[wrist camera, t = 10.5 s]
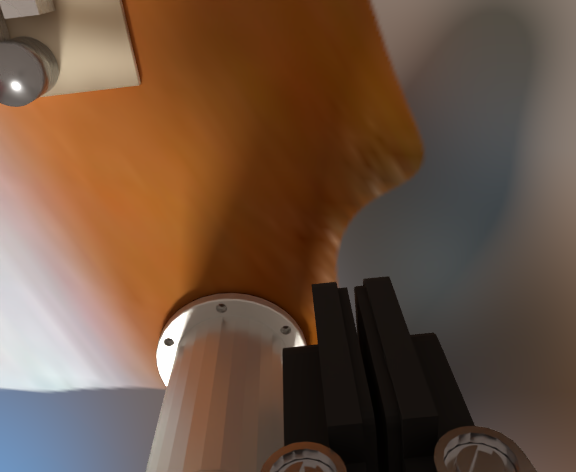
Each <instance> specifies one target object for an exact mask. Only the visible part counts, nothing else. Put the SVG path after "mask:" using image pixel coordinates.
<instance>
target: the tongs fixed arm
mask: <svg viewBox="0 0 576 472" xmlns="http://www.w3.org/2000/svg"><path fill="white" fill-rule="evenodd" d="M0 6H1V9H2V12H3V15H4V18H5V19H8V18H17V17H25V16H33V15H40V14H44V13H48V12H52V11H55V8H54V5H53V1H52V0H0Z"/></svg>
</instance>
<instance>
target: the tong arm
mask: <svg viewBox="0 0 576 472" xmlns="http://www.w3.org/2000/svg"><path fill="white" fill-rule="evenodd" d="M58 75H59V69H58V63H57V61H56V58H55V56H54V54H53V53H52V52H51V50H50V49H49V48H48V47H47V46H46V45H45V44H43V43H42V42H40V41H39V40H37V39H34V38H31V37H26V36H20V37H15V38H12V39H11V38H10V35H9V32H8V29H7V26H6V23H5V20H4V17H3V14H2V11H1V8H0V103H2V104H4V105H7V106H14V107H18V106H24V105H27V104H29V103H30V102H32V101H34V100H35V99H37V98H39V97H40V96H42V95H44V94H45V93H47V92H48V91H50V90H51V89H52V88H53V87H54V86H55V84H56V82H57V80H58Z"/></svg>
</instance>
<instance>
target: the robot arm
mask: <svg viewBox="0 0 576 472" xmlns="http://www.w3.org/2000/svg"><path fill="white" fill-rule="evenodd" d="M312 292H313V302H314V311H315V320H316V329H317V339H318V344H317V345H307V344H306V340H305V338H304V335H303V332H302V330H301V329H300V327H299V326H298V324H297V323H296V321H295V320H294V319H293V318H292V317H291V316H290V315H289V314H288V313H287V312H286V311H284V310H283V309H281V308H280V307H278V306H277V305H275V304H273V303H271V302H269V301H267V300H264V299H262V298H259V297H255V296H251V295H247V294H237V293H224V294H215V295H210V296H206V297H202V298H200V299H197V300H195V301H193V302H190V303H189V304H187V305H185V306H184V307H182V308H181V309H179V310H178V311H177V312H176V313H175V314H174V315H173V316H172V317H171V318H170V319H169V320H168V322H167V324H166V325H165V327H164V328H163V330H162V333H161V336H160V339H159V342H158V347H157V351H156V359H157V367H158V370H159V374H160V376H161V378H162V380H163V381H164V383H165V385H166V386H167V388H166V392H165V396H164V400H163V405H162V409H161V412H160V416H159V420H158V424H157V428H156V432H155V436H154V440H153V444H152V448H151V452H150V456H149V460H148V464H147V468H146V472H537V471H536V469H535V468H534V466H533V465H532V463H531V462H530V460H529V459H528V458H527V456H526V455H525V453H524V452H523V451H522V450H521V448H520V447H519V446H518V445H517V444H516V443H515V442H514V441H513V440H511V439H510V438H508V437H507V436H505V435H504V434H502V433H500V432H498V431H495V430H492V429H490V428H486V427H479V426H475V425H474V423H473V421H472V418H471V416H470V413H469V411H468V409H467V406H466V404H465V401H464V399H463V397H462V394H461V392H460V390H459V387H458V385H457V383H456V380H455V378H454V375H453V373H452V371H451V368H450V366H449V364H448V361H447V359H446V356H445V354H444V352H443V349H442V347H441V345H440V342H439V340H438V338H437V336H436V334H434V333H425V334H415V335H410V334H409V331H408V329H407V325H406V323H405V320H404V317H403V314H402V311H401V308H400V306H399V303H398V300H397V297H396V294H395V291H394V289H393V286H392V283H391V280H390V278H389V277H378V278H368V279H364V280H363V286H356V287H355V288H354V292H355V307H356V323H357V332H356V327H355V323H354V318H353V313H352V309H351V304H350V300H349V295H348V290H347V288H337V283H336V282H330V283H321V284H312Z"/></svg>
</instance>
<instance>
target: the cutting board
mask: <svg viewBox="0 0 576 472" xmlns="http://www.w3.org/2000/svg"><path fill="white" fill-rule="evenodd" d="M52 1H53V5H54V8H55V11H52V12H48V13H44V14H40V15H33V16H25V17H17V18H8V19H5V18H4V20H5V23H6V26H7V29H8V32H9V35H10V38H11V39H12V38H15V37H20V36H26V37H31V38H34V39H37V40H39V41H40V42H42V43H43V44H45V45H46V46H47V47H48V48H49V49H50V50H51V52H52V53H53V54H54V56H55V58H56V61H57V63H58V69H59V75H58V80H57V82H56V84H55V86H54V87H53V88H52V89H51V90H50V91H48V92H47V93H45V94H44V95H42V96H40V97H45V96H53V95H62V94H70V93H78V92H87V91H95V90H104V89H112V88H121V87H129V86H137V85H140V84H141V82H140V77H139V73H138V69H137V64H136V60H135V56H134V52H133V47H132V43H131V39H130V34H129V30H128V26H127V21H126V17H125V13H124V9H123V4H122V0H52ZM0 8H1V6H0ZM1 11H2V9H1ZM2 14H3V12H2ZM3 17H4V15H3Z"/></svg>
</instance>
